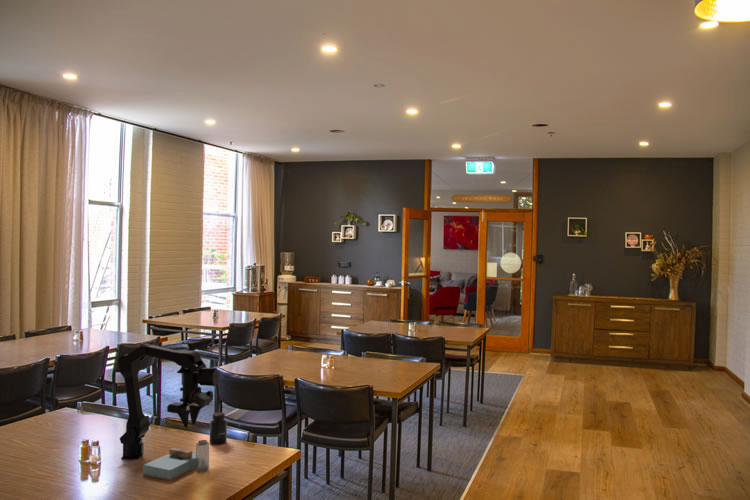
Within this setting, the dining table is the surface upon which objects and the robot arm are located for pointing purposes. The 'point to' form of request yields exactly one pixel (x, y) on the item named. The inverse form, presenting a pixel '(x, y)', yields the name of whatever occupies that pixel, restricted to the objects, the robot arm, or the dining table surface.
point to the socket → (170, 466)
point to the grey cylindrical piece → (202, 456)
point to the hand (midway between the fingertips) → (189, 425)
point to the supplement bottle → (218, 429)
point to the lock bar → (180, 452)
